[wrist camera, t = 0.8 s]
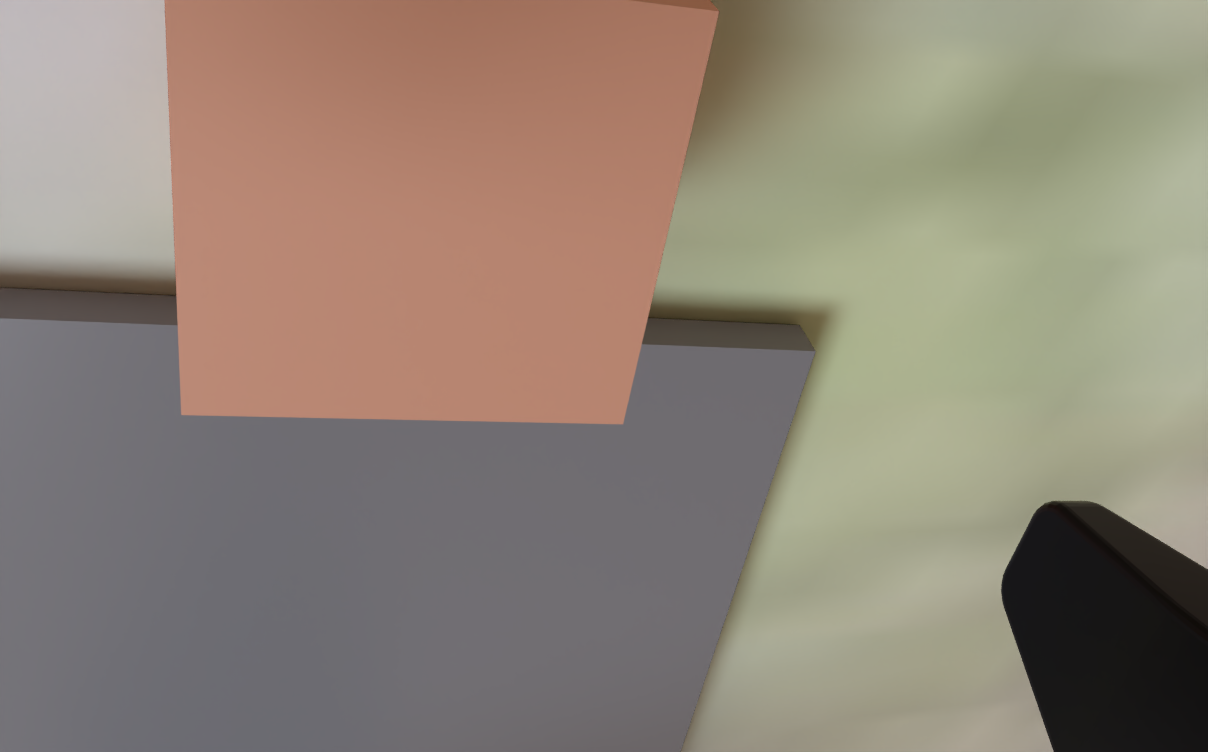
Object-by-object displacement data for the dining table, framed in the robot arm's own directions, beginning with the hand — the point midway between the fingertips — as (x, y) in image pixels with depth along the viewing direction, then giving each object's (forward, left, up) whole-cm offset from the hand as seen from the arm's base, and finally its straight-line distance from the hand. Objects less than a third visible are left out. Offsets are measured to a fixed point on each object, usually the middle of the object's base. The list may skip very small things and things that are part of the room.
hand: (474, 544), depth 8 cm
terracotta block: (0, 0, -10) cm, 10 cm away
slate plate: (-11, 0, -9) cm, 14 cm away
